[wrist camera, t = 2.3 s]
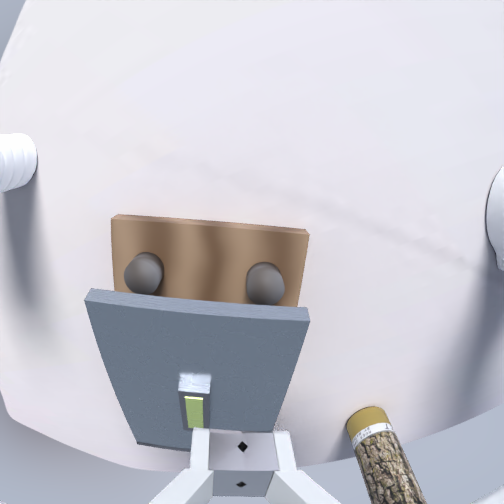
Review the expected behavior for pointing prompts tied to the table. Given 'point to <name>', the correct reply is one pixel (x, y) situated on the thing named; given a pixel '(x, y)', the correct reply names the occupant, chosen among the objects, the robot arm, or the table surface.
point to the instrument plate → (195, 362)
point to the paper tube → (382, 459)
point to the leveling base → (208, 260)
